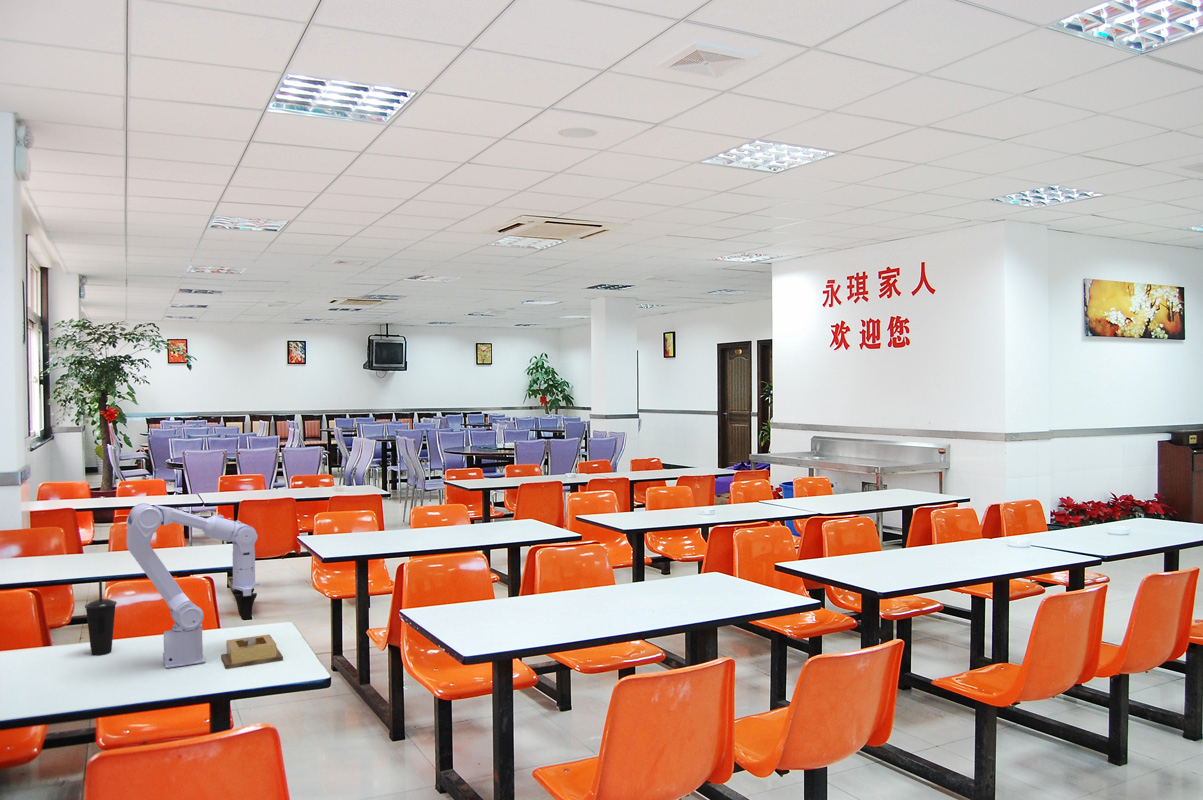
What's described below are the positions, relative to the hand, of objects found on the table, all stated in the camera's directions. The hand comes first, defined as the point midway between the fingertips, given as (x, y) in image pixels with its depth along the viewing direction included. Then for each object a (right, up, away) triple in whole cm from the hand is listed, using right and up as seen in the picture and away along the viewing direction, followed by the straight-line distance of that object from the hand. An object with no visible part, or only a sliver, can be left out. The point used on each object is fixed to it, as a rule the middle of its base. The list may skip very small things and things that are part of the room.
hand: (244, 617), depth 239 cm
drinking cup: (-40, -10, 0) cm, 41 cm away
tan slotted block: (+5, -8, -7) cm, 12 cm away
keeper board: (+5, -9, -8) cm, 13 cm away
